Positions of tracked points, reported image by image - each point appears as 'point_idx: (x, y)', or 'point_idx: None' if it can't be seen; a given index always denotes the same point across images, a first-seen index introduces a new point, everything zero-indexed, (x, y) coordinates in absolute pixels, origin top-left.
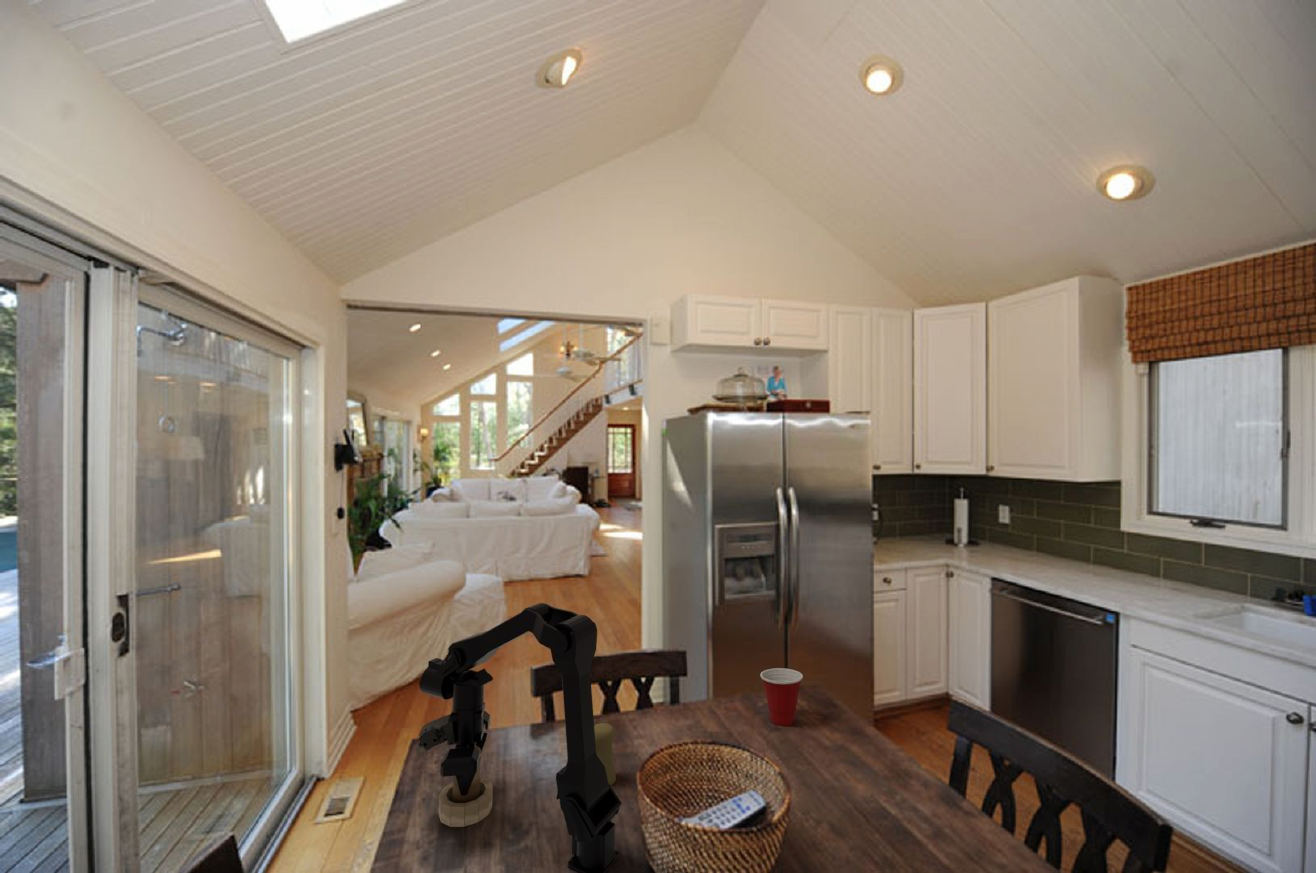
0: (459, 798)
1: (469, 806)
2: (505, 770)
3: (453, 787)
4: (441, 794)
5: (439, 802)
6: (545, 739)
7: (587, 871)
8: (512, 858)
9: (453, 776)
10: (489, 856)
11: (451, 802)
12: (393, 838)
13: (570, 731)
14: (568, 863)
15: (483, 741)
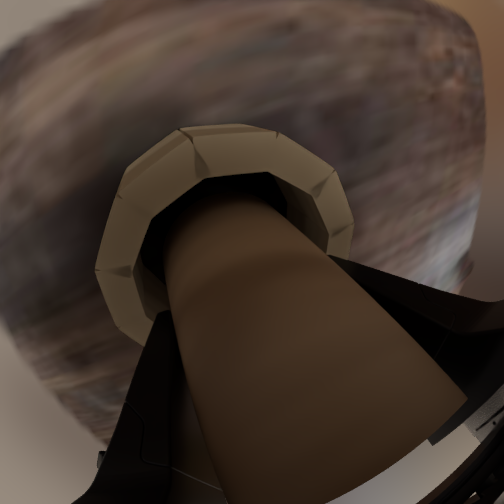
0: (167, 280)
1: (132, 336)
2: (396, 257)
3: (198, 261)
4: (206, 146)
5: (168, 146)
6: (449, 282)
7: (100, 463)
8: (71, 405)
9: (221, 314)
10: (51, 374)
11: (132, 250)
12: (26, 35)
13: None
14: (101, 454)
15: (432, 435)
